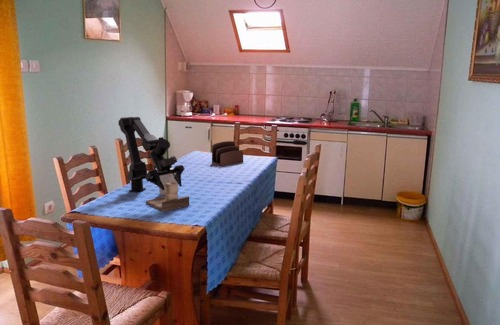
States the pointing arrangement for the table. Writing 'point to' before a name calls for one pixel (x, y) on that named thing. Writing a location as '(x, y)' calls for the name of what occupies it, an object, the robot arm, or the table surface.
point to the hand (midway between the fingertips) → (172, 187)
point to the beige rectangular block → (171, 190)
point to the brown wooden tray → (168, 203)
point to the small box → (166, 179)
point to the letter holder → (226, 153)
